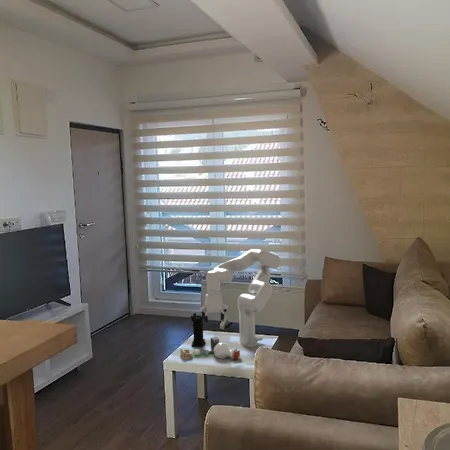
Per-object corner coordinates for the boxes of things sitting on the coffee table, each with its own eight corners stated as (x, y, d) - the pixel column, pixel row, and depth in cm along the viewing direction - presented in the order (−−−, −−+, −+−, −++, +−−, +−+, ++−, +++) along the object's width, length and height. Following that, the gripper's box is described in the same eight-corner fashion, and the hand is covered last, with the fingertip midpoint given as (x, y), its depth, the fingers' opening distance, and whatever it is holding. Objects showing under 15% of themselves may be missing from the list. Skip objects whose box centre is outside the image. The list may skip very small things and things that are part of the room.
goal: (188, 353, 274) (188, 347, 273) (192, 358, 266) (192, 351, 266) (180, 355, 272) (180, 348, 271) (184, 359, 264) (183, 352, 264)
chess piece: (203, 349, 284) (202, 316, 282) (190, 348, 286) (189, 316, 284) (206, 345, 292) (205, 313, 290) (194, 344, 293) (193, 312, 292)
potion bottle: (214, 358, 272) (237, 366, 265) (208, 353, 264) (231, 361, 257) (220, 343, 276) (243, 350, 269) (214, 338, 268) (237, 344, 261)
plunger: (216, 350, 278) (216, 336, 277) (219, 352, 273) (219, 339, 273) (203, 352, 275) (202, 338, 274) (205, 354, 271) (205, 341, 270)
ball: (199, 353, 273) (199, 347, 273) (201, 355, 270) (200, 349, 270) (193, 354, 272) (193, 348, 272) (195, 356, 269) (194, 350, 269)
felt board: (219, 351, 280) (219, 349, 280) (223, 355, 273) (223, 353, 273) (180, 357, 272) (180, 355, 272) (183, 361, 265) (183, 359, 264)
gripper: (225, 289, 279) (225, 318, 280) (197, 292, 273) (198, 321, 274) (230, 292, 272) (230, 321, 273) (201, 294, 266) (201, 324, 267)
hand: (214, 321), depth 273 cm, fingers open, 9 cm apart
